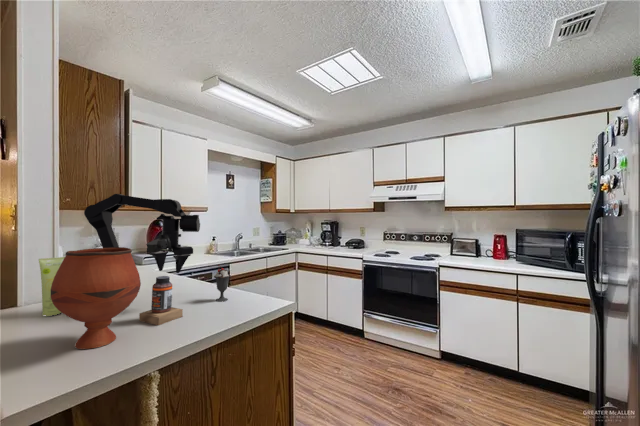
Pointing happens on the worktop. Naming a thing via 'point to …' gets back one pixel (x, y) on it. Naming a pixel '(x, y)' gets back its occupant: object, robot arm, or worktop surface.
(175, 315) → the pedestal
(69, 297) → the goblet
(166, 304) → the supplement bottle
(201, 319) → the worktop surface
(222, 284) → the sundae
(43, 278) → the tube
